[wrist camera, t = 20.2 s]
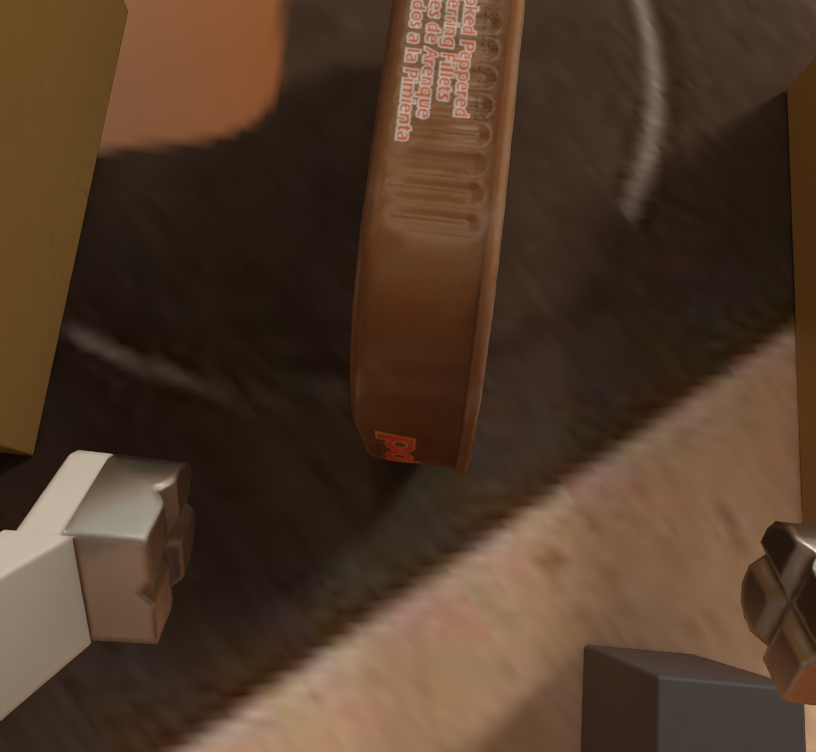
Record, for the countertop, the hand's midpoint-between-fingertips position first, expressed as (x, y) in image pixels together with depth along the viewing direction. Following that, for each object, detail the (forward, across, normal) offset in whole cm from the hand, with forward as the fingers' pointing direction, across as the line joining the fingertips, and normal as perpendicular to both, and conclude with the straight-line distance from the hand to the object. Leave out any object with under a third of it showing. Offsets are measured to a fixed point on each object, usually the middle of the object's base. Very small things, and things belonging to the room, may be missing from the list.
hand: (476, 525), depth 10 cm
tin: (+13, +1, +1) cm, 13 cm away
